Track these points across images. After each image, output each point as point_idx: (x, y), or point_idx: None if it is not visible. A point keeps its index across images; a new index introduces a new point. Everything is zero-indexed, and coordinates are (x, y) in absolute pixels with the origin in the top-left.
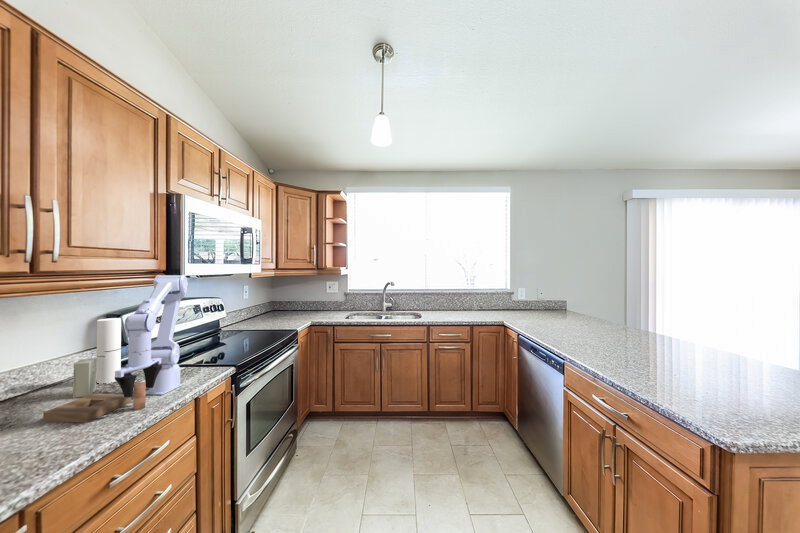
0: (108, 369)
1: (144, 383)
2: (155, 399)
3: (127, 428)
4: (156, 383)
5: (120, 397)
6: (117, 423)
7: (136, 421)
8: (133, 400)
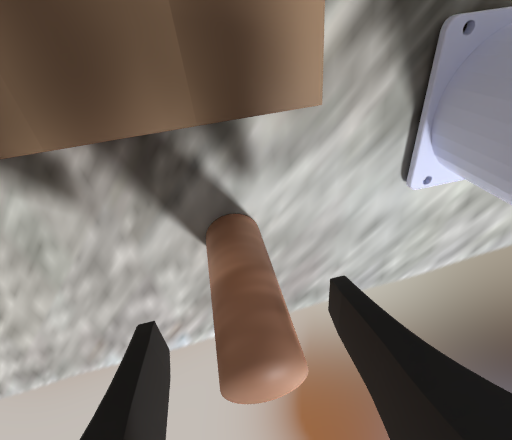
0: None
1: (276, 397)
2: (346, 203)
3: (77, 366)
4: (489, 168)
5: (253, 70)
6: (74, 306)
7: (129, 343)
8: (212, 266)
